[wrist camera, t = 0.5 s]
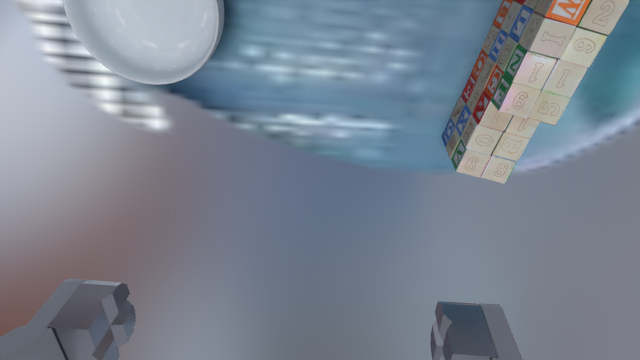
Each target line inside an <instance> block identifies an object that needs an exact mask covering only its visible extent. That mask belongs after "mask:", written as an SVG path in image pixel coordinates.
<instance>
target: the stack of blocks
mask: <svg viewBox="0 0 640 360" xmlns="http://www.w3.org/2000/svg"><path fill="white" fill-rule="evenodd" d="M628 3H629V0H503V2H502V5H501V7H500V9H499V11H498V13H497V16H496V18H495V20H494V22H493V24H492V26H491V28H490V30H489V33H488V35H487V37H486V39H485V41H484V44H483V46H482V50H481V52H480V55H479V57H478V59H477V61H476V63H475V66H474V68H473V70H472V74H471V76H470V78H469V80H468V82H467V84H466V86H465V89H464V91H463V93H462V96H460V98H459V100H458V102H457V104H456V106H455V108H454V111H453V113H452V115H451V118H450V120H449V122H448V124H447V127H446V129H445V131H444V133H443V135H442V139H443V142H444V144H445V147H446V150H447V153H448V155H449V158H450V159H451V160H452V163H453V165H454V168H455V170H456V171H457V172H461V173H464V174H468V175H472V176H476V177H482V178H485V179H488V180H492V181H496V182H500V183H505V182H506V181H507V179H508V177H509V175H510V173H511V171H512V170H513V168H514V166H515V164H516V162H517V161H518V160H519V158H520V156H521V155H522V153H523V151H524V149H525V147H526V146H527V144H528V142H529V140H530V138H531V137H532V136H533V134H534V132H535V130H536V128H537V126H538V125H539V123H540V121H541V122H544V123H548V124H551V125H556V123H557V122H558V120H559V118H560V117H561V115H562V113H563V111H564V110H565V108H566V106H567V105H568V103H569V101H570V99H571V96H572V95H573V93H574V92H575V90H576V88H577V86H578V85H579V83H580V81H581V79H582V78H583V76H584V74H585V73H586V71H587V68H589V67H590V65H591V64H592V62H593V60H594V59H595V57H596V55H597V54H598V52H599V50H600V49H601V47H602V45H603V44H604V42H605V40H606V38H607V35H609V34H610V33H611V31H612V30H613V28H614V26H615V25H616V23H617V21H618V20H619V18H620V16H621V15H622V13H623V11H624V10H625V8H626V7H627V5H628Z"/></svg>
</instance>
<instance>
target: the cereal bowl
mask: <svg viewBox="0 0 640 360" xmlns="http://www.w3.org/2000/svg"><path fill="white" fill-rule="evenodd" d="M63 5H64V8H65V11H66V15H67V17H68V20H69V22H70V24H71V26H72V28H73V30H74V32H75V34H76V35H77V37H78V38H79V40H80V41H81V42H82V44H83V45H84V46H85V48H86V49H87V50H88V51H89V52H90V53H91V54H92V55H93V56H94V57H95V58H96V59H97V60H98V61H99V62H100V63H102V64H103V65H104V66H106V67H107V68H108V69H110V70H111V71H113V72H115V73H116V74H118V75H120V76H122V77H125V78H127V79H130V80H133V81H136V82H140V83H146V84H169V83H174V82H177V81H180V80H183V79H185V78H187V77H189V76H191V75H192V74H194V73H195V72H197V71H198V70H199V69H200V68H202V66H204V64H206V62H207V61H208V60H209V59H210V57H211V56H212V55H213V53H214V51H215V50H216V48H217V45H218V43H219V41H220V38H221V35H222V31H223V25H224V14H225V13H224V2H223V0H63Z"/></svg>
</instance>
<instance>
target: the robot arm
mask: <svg viewBox="0 0 640 360" xmlns="http://www.w3.org/2000/svg"><path fill="white" fill-rule="evenodd" d="M129 294H130V292H129V289H128V286H127V284H124V283H116V282H104V281H93V280H78V279H68V280H66V281H64V282H62V284H61V285H60V286H59V287H58V289H56V291H55V292H54V293H53V294H52V296H51V297H50V298H49V299H48V300H47V302H46V303H45V304H44V305H43V306H42V307H41V309H40V310H39V311H38V312H37V313H36V315H35V316H34V317H33V318H32V319H31V321H30V322H29V323H28V324H27V325H26V327H25V326H24V327H23V326H19V327H18V328H16V329H14V330H12V331H10V332H9V333H7V334H5V335H3V336H1V337H0V360H118V359H119V357H120V356H119V351H118V348H120V347H121V346H122V345H124V344H125V343H126V342H128V340H129V339H130V337H131V335H132V333H133V330H134V326H135V322H136V314H135V309H134V306H133V305H132V304H131V303H130V302H129V301H128V300H127V298H128V296H129ZM435 315H436V320H437V321H436V322H435V323H434V324H433V325H432V331H431V354H432V360H522V357H521V354H520V352H519V350H518V347H517V344H516V342H515V339H514V337H513V334H512V332H511V329H510V327H509V324H508V321H507V319H506V316H505V314H504V311H503V309H502V307H501V306H500V305H499V304H477V303H458V302H457V303H456V302H438V303H437V306H436V310H435Z"/></svg>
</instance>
